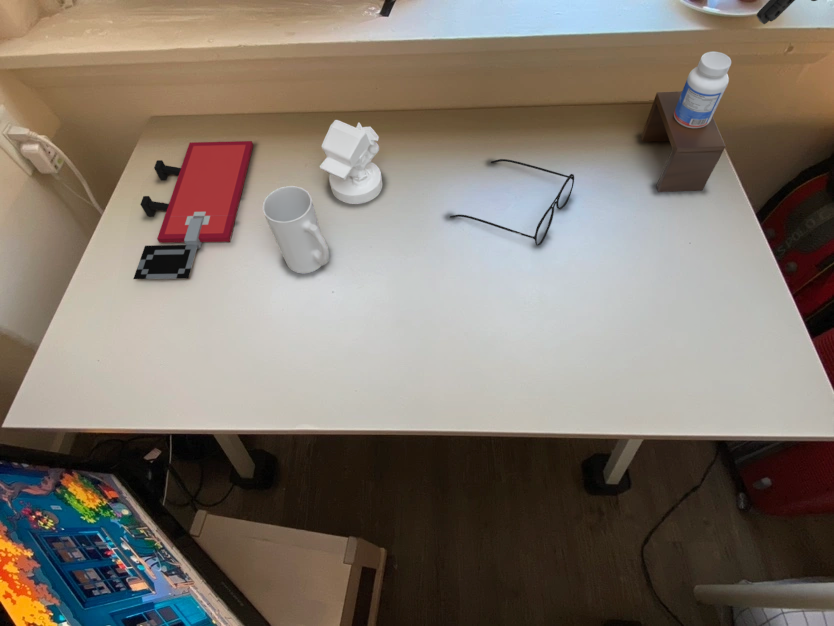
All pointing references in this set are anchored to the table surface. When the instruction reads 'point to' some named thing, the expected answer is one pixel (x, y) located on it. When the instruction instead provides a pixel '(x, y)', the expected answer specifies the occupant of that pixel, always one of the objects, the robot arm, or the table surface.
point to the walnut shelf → (682, 146)
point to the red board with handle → (195, 206)
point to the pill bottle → (703, 90)
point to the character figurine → (352, 162)
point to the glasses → (545, 212)
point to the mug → (296, 228)
